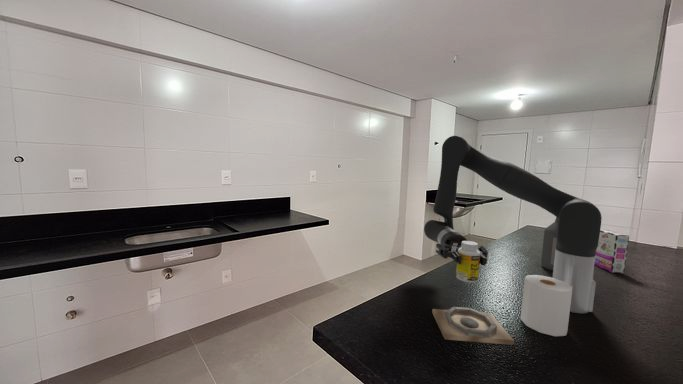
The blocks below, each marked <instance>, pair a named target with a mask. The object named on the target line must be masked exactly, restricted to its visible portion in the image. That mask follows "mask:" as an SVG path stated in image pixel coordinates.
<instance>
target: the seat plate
mask: <svg viewBox="0 0 683 384" xmlns="http://www.w3.org/2000/svg"><path fill="white" fill-rule="evenodd" d="M431 310H432V311H431V312H432V315H433V317H434V319H435V322H436V324H437V327H438V328H439V331H440V332H441V336H442V337H443V338H444V340H448V341H459V342H460V341H461V342H471V343H472V342H473V343H483V344H485V343H486V344H497V345H508V346H509V345H510V346H514V343H515V342H514V341H515V340H514V339H513V338H512V336H511V335H510V334H509V333H508V332H507V331H506V329H505V327H503V326H502V325H501V324H500V322H499V321H498V320H497V319H496V318H495V317H494V315H493V314H492V312H484V311H483V312H482V311H479V310H476V309H474V308H471V307H462V306H461V307H460V306H452V307H450V308H449V309H440V308H432V309H431Z"/></svg>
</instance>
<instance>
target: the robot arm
mask: <svg viewBox="0 0 683 384" xmlns="http://www.w3.org/2000/svg"><path fill="white" fill-rule="evenodd" d="M440 165H441V167H440V175H439V180H438V185H437V191H436V195H435V200H434V205H433V213H434V214H437V216H438V215H439V216H441V217H443V220H444V221H440V220H437V219H429V220H427V221H426V223H425V224H424V228H423V229H424V231H423V232H424V235H425V236H426V237H427V238H428V239H430V240H431V241H434V242H435V243H436V244H435V253H437V254H438V255H439V256H440V257H442V258H443V259H446V260H447V259H448V258H450V260H451V261H454V262H455V263H456V265H457V264H461V255H460V254H459V253H458V249H459V248H461V244H462V241H468V239H467V238H466V237H465V236H464V235H462V234H461V233H460V232H458V231H457V230H454V208H455V204H456V198H457V188H458V175H459V172H460V171H459V170H460V167H463V168H466V169H467V170H470V171H472V172H473V173H475V174H477V175H478V176H480V177H481V178H483V179H484V180H485V181H487V182H488V183H490V184H491V185H493V186H494V187H496V188H498V189H500V190H501V191H503V192H504V193H507V194H509V195H511V196H513V197H515V198H517V199H520V200H522V201H525V202H528V203H530V204H533V205H536V206H538V207H540V208H541V209H543V210H545V211H547V212H548V213H550V214H552V216H554V217H555V218H556V217H557V218H559V225H558V234H557V241H556V251H555V260H554V269H553V271H552V278H554V279H557V280H560V281H563V282H565V283H567V284H569V285H570V286H572V287H573V288H572V297H571V305H570V312H571V313H575V314H588V313H592V312H593V310H594V309H593V308H594V301H595V300H594V299H595V293H596V285H597V283H596V281H595V280H594V271H595V265H594V264H595V256H596V250H597V247H598V242H599V235H600V230H602V229H601V227H602V220H603V219H602V213H601V211H600V209H599V208H598V207H597V206H596V205H595V204H593V203H592V202H591V201H588V200H585V199H582V198H579V197H578V196H577V197H576V196H574V195H572V194H569V193H567V192H565V191H562V190H559V189H557V188H555V187H554V186H552V185H550V184H548V182H546V181H544V180H543V179H541V178H539V177H538V176H536V175H534V174H533V173H531V172H529V171H527V170H526V169H524V168H522V167H520V166H518V165H515V164H513V163H512V162H509V161H506V160H503V159H501V158H497V157H493V156H491V155H487V154H485V153H484V152H481V151H480V150H478V149H476V148H475V147H473V146H472V145H470V144H469V143H468V141H467V140H466V139H465V138H464V137H462V136H460V135H451V136H449V137H448V138H446V139H445V140H444V141H443V143H442V147H441V164H440ZM477 250H479V251H480V266H486V265H487V264H488V255H489V251H488V250H487V249H486V247H485V246H483V245H480V246H479V245H478V249H477Z"/></svg>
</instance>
